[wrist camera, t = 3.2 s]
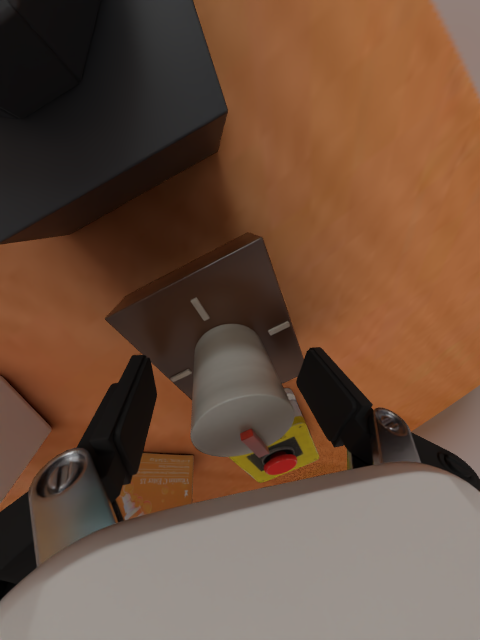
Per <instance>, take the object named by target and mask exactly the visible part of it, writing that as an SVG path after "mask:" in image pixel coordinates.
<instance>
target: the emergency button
mask: <svg viewBox="0 0 480 640" xmlns="http://www.w3.org/2000/svg"><path fill="white" fill-rule="evenodd" d="M284 390H285V392H286V394H287V396H288V398H289V400H290V402H291V405H292V407H293V409H294V421H293V424H292V426H291V427H290V429H289V430H288V431H287V432H286V434H284V435H283V436H282V437H281V438H280V439H279V440H277V441H276V442H274V443H273V444H271V445H269V446H267V447H268V450H269V454H267V455H265V456H263V457H260V458H259V457H258V456H257V455H256V454H254V453H253V452H252V453H249V454H245V455H240V456H232V457H229V458H230V459H231V460H233V461H234V462H235V463H236V464H237V465H239V466H240V467H241V468H242V469H243V470H244V471H246V472H247V473H248V474H249V475H250V476H252V477H253V478H254V479H255V480H256V481H257V482H260V483H261V482H266V481H268V480H271V479H273V478H275V477H278V476H280V475H283V474H285V473H288V472H290V471H292V470H295V469H297V468H300V467H302V466H305V465H307V464H309V463H312V462H314V461H316V460H318V459H319V455H318V452H317V450H316V447H315V445H314V442H313V440H312V437H311V435H310V432H309V430H308V428H307V425H306V423H305V420H304V418H303V416H302V413H301V411H300V408H299V406H298V403H297V401H296V398H295V396H294V394H293V392H292V390H291V389H288V388H284Z"/></svg>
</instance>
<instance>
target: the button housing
mask: <svg viewBox="0 0 480 640" xmlns="http://www.w3.org/2000/svg"><path fill="white" fill-rule="evenodd" d="M227 113H228V109H227V106H226V103H225V99H224V96H223V93H222V90H221V87H220V84H219V81H218V77H217V74H216V71H215V68H214V65H213V62H212V59H211V56H210V52H209V49H208V46H207V43H206V40H205V37H204V34H203V31H202V27H201V24H200V21H199V18H198V15H197V12H196V9H195V6H194V2H193V0H0V244H7V243H14V242H21V241H28V240H35V239H42V238H49V237H57V236H64V235H70V234H71V233H73V232H75V231H77V230H79V229H80V228H82V227H84V226H86V225H87V224H89V223H91V222H93V221H95V220H96V219H98V218H100V217H102V216H103V215H105V214H107V213H109V212H111V211H112V210H114V209H116V208H118V207H119V206H121V205H123V204H125V203H127V202H128V201H130V200H132V199H134V198H135V197H137V196H139V195H141V194H143V193H144V192H146V191H148V190H150V189H152V188H153V187H155V186H157V185H159V184H160V183H162V182H164V181H166V180H168V179H169V178H171V177H173V176H175V175H176V174H178V173H180V172H182V171H184V170H185V169H187V168H189V167H191V166H192V165H194V164H196V163H198V162H200V161H201V160H203V159H205V158H207V157H208V156H210V155H212V154H214V153H216V152H217V151H218V148H219V144H220V140H221V136H222V133H223V129H224V125H225V121H226V117H227Z"/></svg>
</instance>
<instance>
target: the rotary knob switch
mask: <svg viewBox="0 0 480 640" xmlns="http://www.w3.org/2000/svg"><path fill="white" fill-rule="evenodd" d="M105 320H106V321H107V322H108V323H109V324H110V325H112V326H113V327H114V328H115V329H116V330H117V331H118V332H119V333H120V334H121V335H122V336H123V337H124V338H126V339H127V340H128V341H129V342H130V343H131V344H132V345H133V346H134V347H135V348H136V349H137V350H138V351H140V352H141V353H142V354H143V355H146V358H150V361H151V363H152V364H154V365H155V366H156V367H157V368H158V369H159V370H160V371H161V372H162V373H163V374H164V375H165V376H166V377H168V378H169V379H170V380H171V381H172V382H173V383H174V384H175V385H176V386H177V387H178V388H179V389H180V390H182V391H183V392H184V393H185V394H186V395H187V396H188V397H189V398H190V399H191V400H192V396H193V375H194V354H195V347H196V345H197V343H198V341H199V339H200V338H201V337H202V336H203V335H204V334H205V333H206V332H208V331H209V330H211V329H212V328H215V327H217V326H220V325H224V324H240V325H244V326H246V327H249V328H250V329H252V330H253V331H254V332H256V334H257V335H258V336H259V338H260V340H261V342H262V344H263V346H264V348H265V350H266V352H267V355H268V357H269V359H270V361H271V363H272V365H273V367H274V369H275V371H276V373H277V375H278V377H279V380H280V382H281V384H282V383H285V382H287V381H289V380H291V379H293V378H295V377H298V375H299V372H300V369H301V366H302V364H303V361H304V359H303V356H302V353H301V350H300V347H299V344H298V341H297V338H296V335H295V332H294V329H293V326H292V323H291V320H290V317H289V314H288V311H287V308H286V305H285V302H284V299H283V296H282V294H281V291H280V288H279V285H278V282H277V279H276V276H275V273H274V270H273V267H272V264H271V261H270V258H269V255H268V252H267V249H266V246H265V243H264V240H263V238H262V237H261V236H258V235H255V234H252V233H249V232H247V233H245V234H244V235H242V236H240V237H238V238H236V239H234V240H232V241H230V242H228V243H226V244H224V245H223V246H221V247H219V248H217V249H215V250H213V251H211V252H209V253H207V254H205V255H203V256H202V257H200V258H198V259H196V260H194V261H192V262H190V263H188V264H186V265H184V266H182V267H181V268H179V269H177V270H175V271H173V272H171V273H169V274H167V275H165V276H163V277H162V278H160V279H158V280H156V281H154V282H152V283H150V284H148V285H146V286H144V287H142V288H141V289H139V290H137V291H135V292H133V293H131V294H129V295H127V296H125V297H124V299H123V300H122V301H121V302H120V303H119V304H118V305H117V306H116V307H115V308H114V309H113V310H112V311H111V312H110V313H109V314H108V315H107V317H106V318H105Z"/></svg>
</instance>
